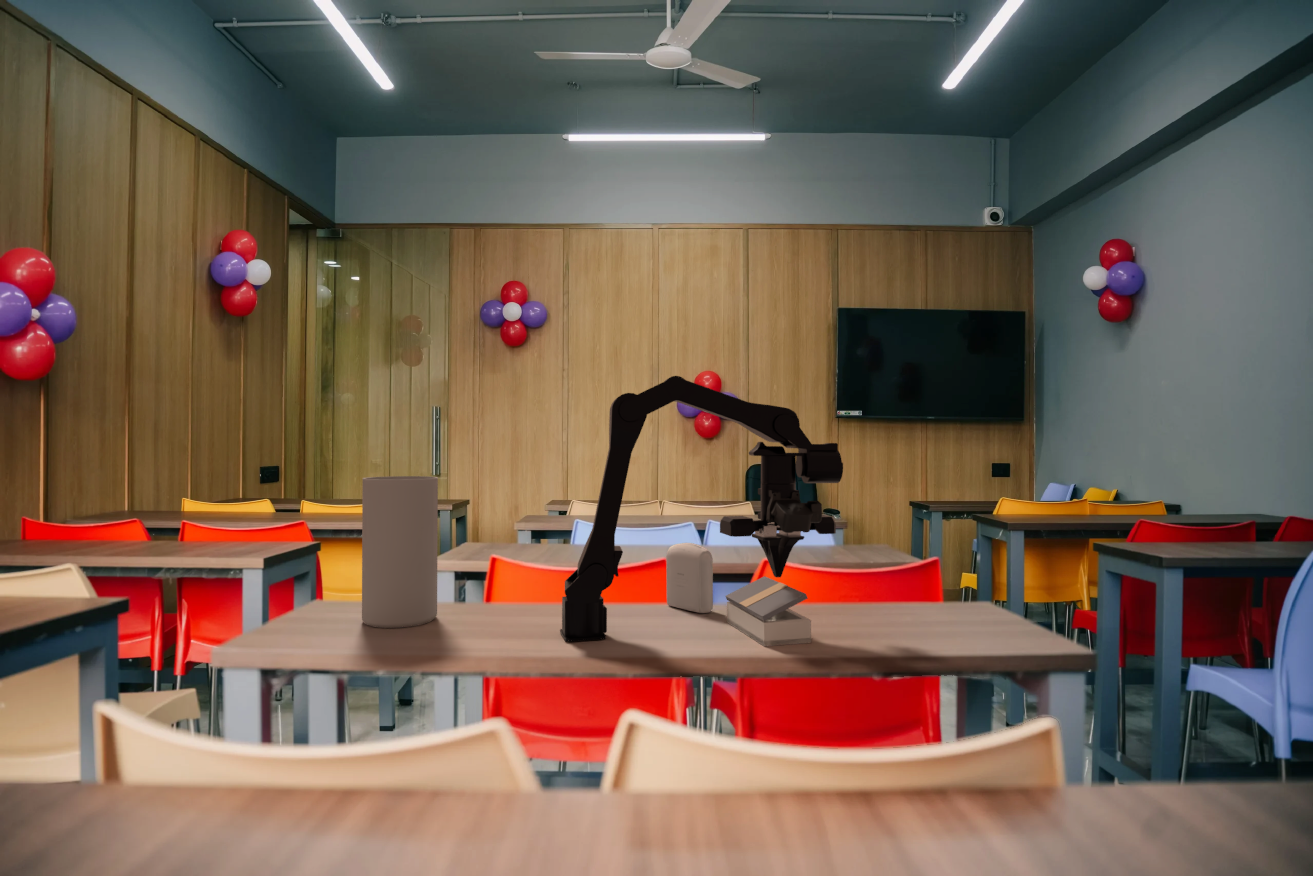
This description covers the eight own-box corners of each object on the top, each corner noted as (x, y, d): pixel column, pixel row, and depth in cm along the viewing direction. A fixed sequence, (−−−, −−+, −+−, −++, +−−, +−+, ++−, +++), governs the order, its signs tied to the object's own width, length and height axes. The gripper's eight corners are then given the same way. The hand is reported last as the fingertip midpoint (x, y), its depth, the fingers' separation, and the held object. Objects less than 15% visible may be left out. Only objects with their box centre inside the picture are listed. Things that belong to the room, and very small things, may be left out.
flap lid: (764, 621, 117) (762, 615, 117) (726, 600, 133) (725, 595, 133) (807, 598, 119) (805, 593, 119) (766, 580, 135) (764, 575, 135)
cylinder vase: (390, 610, 141) (391, 475, 141) (450, 614, 138) (451, 476, 138) (346, 626, 129) (346, 478, 129) (410, 631, 126) (411, 480, 126)
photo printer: (663, 605, 146) (663, 541, 146) (679, 602, 149) (680, 539, 149) (699, 615, 138) (699, 547, 138) (716, 612, 141) (716, 545, 141)
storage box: (764, 646, 117) (764, 623, 117) (726, 622, 133) (726, 601, 133) (811, 642, 119) (811, 619, 119) (769, 619, 135) (769, 599, 135)
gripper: (744, 486, 116) (743, 588, 116) (853, 485, 121) (852, 583, 121) (719, 482, 127) (718, 576, 127) (820, 481, 132) (819, 571, 132)
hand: (777, 577), depth 127 cm, fingers closed
